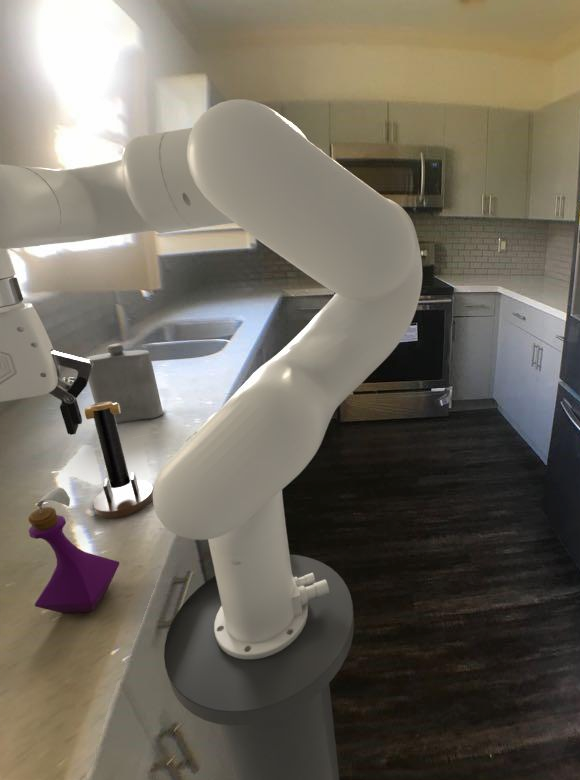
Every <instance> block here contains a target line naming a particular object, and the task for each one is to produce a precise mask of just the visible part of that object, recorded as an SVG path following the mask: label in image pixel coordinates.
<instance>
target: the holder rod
mask: <svg viewBox="0 0 580 780" xmlns="http://www.w3.org/2000/svg"><path fill="white" fill-rule="evenodd" d="M115 414H120V406H119V403H113V404H112V402H102V403H97V404H95V403H94V404H91V405H90V406H89V407H86V408H84V416H85V419H86V420H91V419H93V421H94V424H95V428H96V432H97V436H98V441H99V445H100V447H101V448H100V449H101V453H102V456H103V461H104V464H105V469H106V473H107V478H108V480H109V483H110V486H111V488H118V487H122V486H125V485H127V484H129V483H130V479H131V477H130V474H129V469H128V466H127V461H126V459H125V457H126V456H125V454H124V453H125V452H124V449H123V445H122V441H121V436H120V432H119V428H118V423H116V419H115Z"/></svg>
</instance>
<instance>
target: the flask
mask: <svg viewBox="0 0 580 780" xmlns="http://www.w3.org/2000/svg"><path fill="white" fill-rule="evenodd" d="M106 350H107V353H99V354H95V355H90V356H87V357H85V358H84V359H87V360H91V361H92V362H93V368H92V371H91V374H90V377H89V380H88V385H89V387H90V392H91V394H92V399H93V403H94V404H97V403H102V402H112V404H113V403H119V406H120V414H115V419H116V424H120V423H124V422H125V423H126V422H131V421H138V420H147V419H148V420H149V419H155V418H159V417H160V416H162V415H163V413H164V411H163V407H162V402H161V397H160V393H159V388H158V385H157V384H158V383H157V379H156V375H155V371H154V366H153V362H152V357H151V353H150V351H149V350H147V349H135V350H134V349H133V350H125V347H124V345H123V344H122V343H112V344H109V345H108V346H106Z"/></svg>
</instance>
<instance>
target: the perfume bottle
mask: <svg viewBox="0 0 580 780" xmlns="http://www.w3.org/2000/svg"><path fill="white" fill-rule="evenodd" d="M45 501H54V502H57V503H59V504H62V505H64V506H67V507H70V503H71V498H70V496H69V494H68V492H67V491H66V489H64V488H63V487H60V486H59V487H55V488H53V489H52V490H50V491H49V492H47V493H46V494H44V495H43V496H42V497H41V498H40V500H39V501H38V502H37V503H36V506H37V507H38V508H37V509H36V510H34V511H33V512H31V514H30V515H29V516H28V518H27V520H28V522H29V524H30V525H31V527H29V528H28V534H29V537H30V538H32V539H37V540H38V539H40V540H41V539H42V540H43V541H46V543H47V544H48V545H49V546H50V547H51V549H52V550H53V552H54V554H55V558H56V566H55V568H54V569H53V573H52V574H51V577H50V578H49V580H48V582H47V583H46V585H45V587H44V589H43V590H42V592H41V593H40V595H39V596H38V598H37V599H36V601H35V603H34V607H36V608H39V609H44V610H48V611H52V612H56V613H61V614H74V613H75V614H77V613H91V612H93V611H94V610H95V609H96V607H97V606H98V604H99V602H100V601H101V600H102V598H103V597H104V595H105V594H106V592H107V591H108V589H109V588H110V585H111V583H112V581H113V579H114V576H115V574H116V573H117V571H118V569H119V566H120V561H118V560H115V559H111V558H107V557H103V556H101V555H96V554H93V553H90V552H86V551H84V550H82V549H80V548H78V547H77V546H76V545H75V544H74V543H72V542H71V541H70V540H69V538H68V537H67V536H66V535H65V533H64V531H63V528H64V527H65V525H66V524H67V521H66V518H65V516H62V515H59V514H57V510H56V508H54V507H52V506H48V507H47V506H46V507H43V504H44V502H45Z"/></svg>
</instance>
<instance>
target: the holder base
mask: <svg viewBox="0 0 580 780" xmlns="http://www.w3.org/2000/svg"><path fill="white" fill-rule="evenodd" d="M102 488H103V490H102V491H101V492H100V493H98V494H97V495H96V497H95V498H94V499H93V501H92V506H93V510H94V513H95V515H96V516H98V517H100V518H103V519H119V518H123V517H127V516H130V515H133V514H135V513H137V512H139V511H141V510H143V509H144V508H146V507H147V506H149V504H150V503H152V502H153V488H154V485H153V484H152V483H151V482H149V481H147V480H142V479H137V476H136V473H135V471H132V472H130V483H129V484H127V485H125V486H122V487H118V488H111V486H110V482H109V478H108V477H105V478H104V479H103V485H102Z"/></svg>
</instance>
